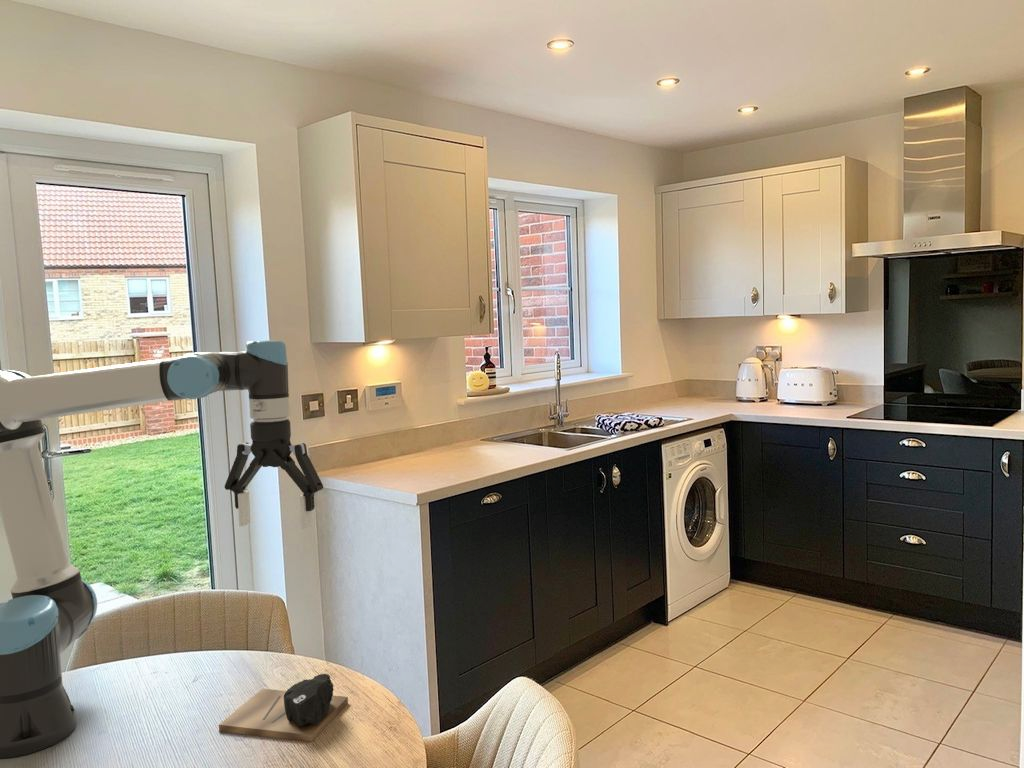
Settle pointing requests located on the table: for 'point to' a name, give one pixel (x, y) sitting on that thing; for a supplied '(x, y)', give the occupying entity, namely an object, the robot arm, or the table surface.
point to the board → (276, 718)
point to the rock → (308, 700)
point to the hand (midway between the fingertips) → (275, 526)
